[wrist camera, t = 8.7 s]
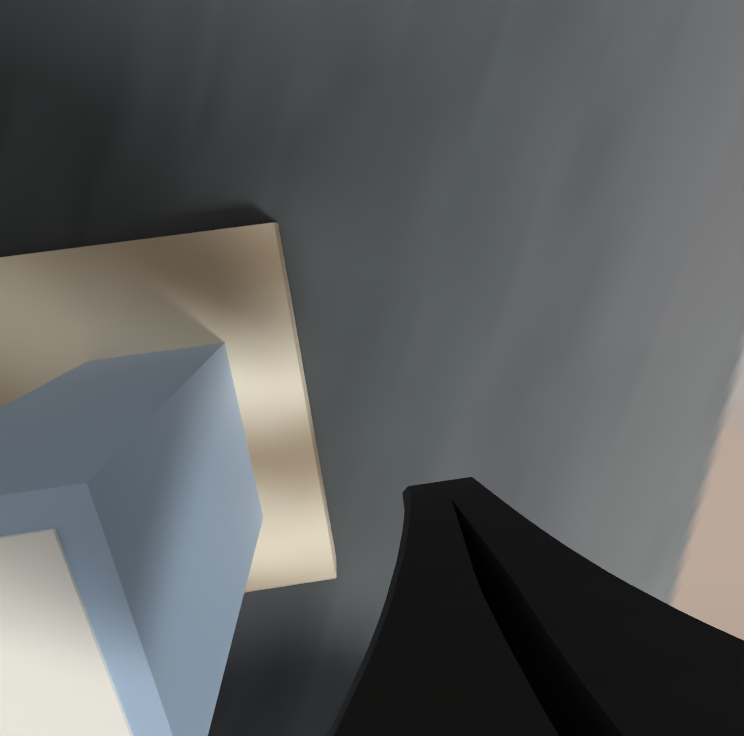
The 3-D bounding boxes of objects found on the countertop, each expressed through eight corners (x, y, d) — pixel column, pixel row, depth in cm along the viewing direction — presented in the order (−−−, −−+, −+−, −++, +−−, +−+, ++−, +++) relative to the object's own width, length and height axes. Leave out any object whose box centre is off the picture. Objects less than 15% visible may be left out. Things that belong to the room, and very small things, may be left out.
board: (336, 558, 17) (336, 577, 17) (-106, 626, 17) (-132, 650, 16) (277, 222, 14) (273, 222, 13) (-281, 294, 13) (-329, 299, 12)
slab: (263, 517, 16) (192, 798, 8) (142, 534, 15) (-51, 838, 8) (224, 342, 14) (85, 484, 6) (87, 361, 14) (-231, 530, 6)
